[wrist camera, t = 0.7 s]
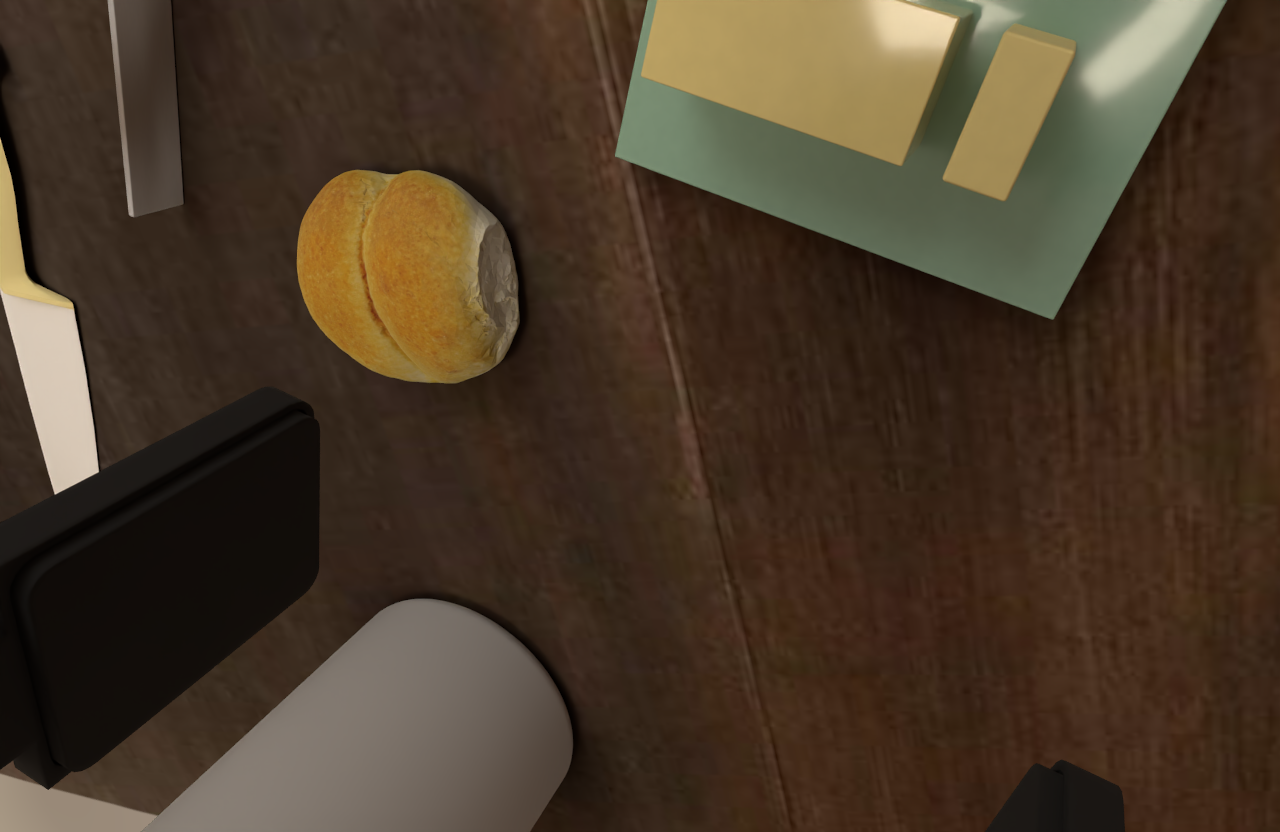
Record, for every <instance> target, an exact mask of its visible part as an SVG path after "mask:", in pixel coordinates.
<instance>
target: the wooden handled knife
mask: <svg viewBox="0 0 1280 832" xmlns="http://www.w3.org/2000/svg"><path fill="white" fill-rule="evenodd" d="M108 8H109V18H110V28H111V38H112V48H113V59H114V69H115V79H116V89H117V99H118V109H119V119H120V130H121V140H122V150H123V160H124V170H125V180H126V190H127V201H128V211H129V215H130V216H132V217H137V216H141V215H145V214H149V213H152V212H156V211H160V210H163V209H167V208H171V207H175V206H178V205H182V204H184V201H183V185H182V169H181V153H180V137H179V120H178V104H177V88H176V72H175V56H174V40H173V24H172V8H171V0H108Z"/></svg>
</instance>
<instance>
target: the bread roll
mask: <svg viewBox="0 0 1280 832" xmlns="http://www.w3.org/2000/svg"><path fill="white" fill-rule="evenodd" d="M297 271H298V279H299V284H300V287H301V291H302V294H303V298H304V301H305V303H306V305H307V307H308V310H309V312H310V313H311V315H312V317H313V319H314V320H315V322H316V323H317V325H318V326H319V327H320V328H321V330H322V331H323V332H324V333H325V334H326V336H327V337H328V338H329V339H331V340H332V341H333V342H334V343H335V344H336V345H337V346H338V347H339V348H340V349H342V350H343V351H344V352H346V353H347V354H349V355H350V356H351V357H352V358H354V359H355V360H356V361H358V362H359V363H360V364H362V365H363V366H365V367H367V368H369V369H370V370H372V371H374V372H377V373H380V374H382V375H385V376H388V377H392V378H398V379H402V380H405V381H413V382H428V383H431V382H438V383H458V382H461V381H464V380H466V379H469V378H473V377H475V376H478V375H481V374H483V373H485V372H487V371H489V370H490V369H492V368H493V367H495V366H496V365H497V364H499V363H500V362H501V361H502V360H503V358H504V357H505V355H506V353H507V351H508V349H509V347H510V345H511V343H512V340H513V338H514V335H515V333H516V330H517V328H518V326H519V322H520V319H519V305H518V277H517V272H516V267H515V262H514V258H513V254H512V250H511V245H510V242H509V240H508V237H507V235H506V232H505V230H504V228H503V226H502V224H501V223H500V222H499V220H498V219H497V218H496V217H495V216H494V215H493V214H492V213H491V212H490V211H489V210H487V209H486V208H485V207H484V206H483V205H481V204H480V203H479V202H477V201H476V200H475V199H474V198H473V197H472V196H471V195H470V194H469V193H468V192H466V191H465V190H464V189H463V188H461V187H460V186H459V185H457V184H456V183H454V182H452V181H450V180H448V179H446V178H444V177H441V176H439V175H436V174H433V173H429V172H426V171H420V170H415V171H407V172H403V173H401V174H383V173H379V172H376V171H366V170H353V171H348V172H344V173H343V174H341V175H339V176H337V177H335V178H334V179H332V180H331V181H330V182H329V183H328V184H326V185H325V186H324V187H323V189H322V190H321V191H320V192H319V194H318V195H317V196H316V198H315V199H314V201H313V202H312V203H311V205H310V206H309V208H308V210H307V212H306V214H305V216H304V218H303V220H302V223H301V227H300V233H299V238H298V248H297Z"/></svg>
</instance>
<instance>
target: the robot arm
mask: <svg viewBox="0 0 1280 832" xmlns="http://www.w3.org/2000/svg"><path fill="white" fill-rule="evenodd" d="M319 490H320V427H319V423H318V421H317V420H316V419H314V412H313V409H312V407H311V406H310V405H309V404H308V403H306V402H304V401H302V400H300V399H298V398H296V397H294V396H291V395H289V394H287V393H285V392H283V391H281V390H279V389H277V388H274V387H264V388H261V389H258V390H256V391H255V392H253V393H251V394H249V395H247V396H245V397H243V398H241V399H239V400H237V401H235V402H233V403H231V404H229V405H227V406H225V407H224V408H222V409H220V410H218V411H216V412H214V413H212V414H210V415H208V416H206V417H204V418H202V419H200V420H198V421H196V422H195V423H193V424H191V425H189V426H187V427H185V428H183V429H181V430H179V431H177V432H175V433H173V434H171V435H169V436H167V437H166V438H164V439H162V440H160V441H158V442H156V443H154V444H152V445H150V446H148V447H146V448H144V449H142V450H140V451H138V452H136V453H135V454H133V455H131V456H129V457H127V458H125V459H123V460H121V461H119V462H117V463H115V464H113V465H111V466H109V467H107V468H106V469H104V470H102V471H100V472H98V473H96V474H94V475H92V476H90V477H88V478H86V479H84V480H82V481H80V482H78V483H77V484H75V485H73V486H71V487H69V488H67V489H65V490H63V491H61V492H59V493H57V494H55V495H53V496H51V497H49V498H48V499H46V500H44V501H42V502H40V503H38V504H36V505H34V506H32V507H30V508H28V509H26V510H24V511H22V512H20V513H18V514H17V515H15V516H13V517H11V518H9V519H7V520H5V521H3V522H1V523H0V769H2V768H3V767H5V766H6V765H7V764H9V763H10V762H11V761H14V765H15V768H17V769H18V770H20V771H21V772H23V773H24V774H26V775H27V776H29V777H30V778H32V779H33V780H34V781H36V782H37V783H39V784H40V785H42V786H43V787H45V788H46V789H48V790H49V789H50V788H51V787H53V786H54V785H55V784H56V783H58V782H59V781H60V780H61V779H63V778H64V777H65V776H66V775H68V774H69V773H70V772H71V771H73V772H78V771H83V770H85V769H87V768H89V767H91V766H92V765H93V764H95V763H96V762H98V761H99V760H100V759H101V758H103V757H104V756H105V755H106V754H108V753H109V752H110V751H111V750H112V749H114V748H115V747H116V746H117V745H119V744H120V743H121V742H122V741H124V740H125V739H126V738H127V737H129V736H130V735H131V734H132V733H133V732H135V731H136V730H137V729H138V728H140V727H141V726H142V725H143V724H145V723H146V722H147V721H148V720H150V719H151V718H152V717H153V716H154V715H156V714H157V713H158V712H159V711H161V710H162V709H163V708H164V707H166V706H167V705H168V704H169V703H170V702H172V701H173V700H174V699H175V698H177V697H178V696H179V695H180V694H182V693H183V692H184V691H185V690H187V689H188V688H189V687H190V686H191V685H193V684H194V683H195V682H196V681H198V680H199V679H200V678H201V677H203V676H204V675H205V674H206V673H208V672H209V671H210V670H211V669H212V668H214V667H215V666H216V665H217V664H219V663H220V662H221V661H222V660H224V659H225V658H226V657H227V656H229V655H230V654H231V653H232V652H233V651H235V650H236V649H237V648H238V647H240V646H241V645H242V644H243V643H245V642H246V641H247V640H248V639H249V638H251V637H252V636H253V635H254V634H256V633H257V632H258V631H259V630H261V629H262V628H263V627H264V626H266V625H267V624H268V623H269V622H270V621H272V620H273V619H274V618H275V617H277V616H278V615H279V614H280V613H282V612H283V611H284V610H285V609H287V608H288V607H289V606H290V605H291V604H293V603H294V602H295V601H296V600H298V599H299V598H300V597H301V596H303V595H304V594H305V593H306V592H307V591H308V590H309V589H310V587H311V586H312V585H313V583H314V581H315V579H316V577H317V574H318V570H319ZM985 832H1125V825H1124V804H1123V796H1122V791H1121V789H1120V788H1119V786H1117V785H1115V784H1113V783H1111V782H1109V781H1107V780H1105V779H1103V778H1100V777H1098V776H1096V775H1094V774H1092V773H1090V772H1088V771H1086V770H1084V769H1081V768H1079V767H1077V766H1075V765H1073V764H1071V763H1069V762H1067V761H1064V760H1060V761H1058V762H1056V763H1055V765H1054V766H1053V767H1052V768H1051V769H1049V768H1046V767H1044V766H1042V765H1040V764H1037V763H1036V764H1034V765H1033V766H1032V767H1031V768H1030V769H1029V771H1028V772H1027V774H1026V775H1025V776H1024V778H1023V779H1022V781H1021V782H1020V783H1019V785H1018V786H1017V788H1016V789H1015V790H1014V792H1013V793H1012V795H1011V796H1010V797H1009V799H1008V800H1007V802H1006V803H1005V804H1004V806H1003V807H1002V809H1001V810H1000V812H999V813H998V814H997V816H996V817H995V819H994V820H993V821H992V823H991V824H990V826H989V827H988V828H987V830H986V831H985Z"/></svg>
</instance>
